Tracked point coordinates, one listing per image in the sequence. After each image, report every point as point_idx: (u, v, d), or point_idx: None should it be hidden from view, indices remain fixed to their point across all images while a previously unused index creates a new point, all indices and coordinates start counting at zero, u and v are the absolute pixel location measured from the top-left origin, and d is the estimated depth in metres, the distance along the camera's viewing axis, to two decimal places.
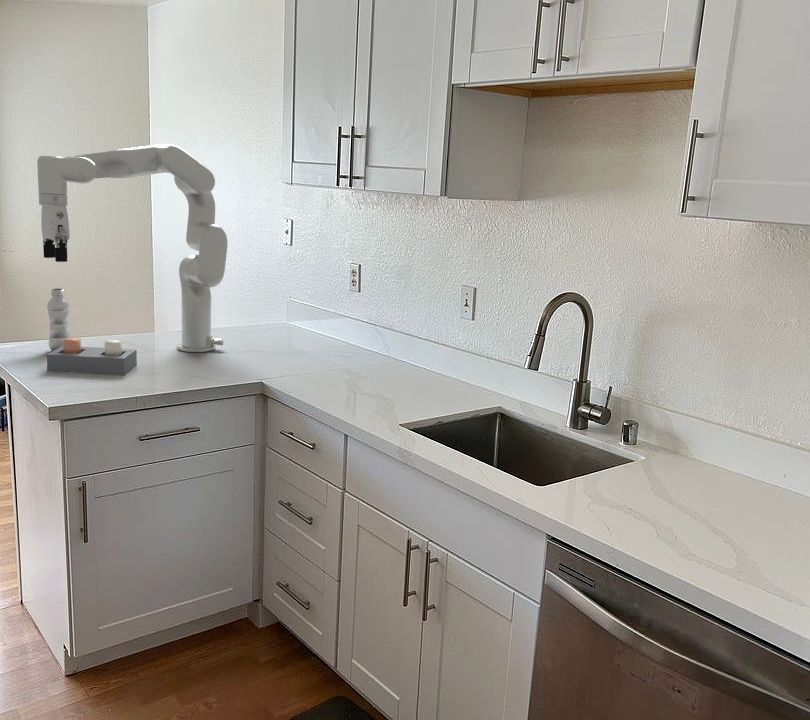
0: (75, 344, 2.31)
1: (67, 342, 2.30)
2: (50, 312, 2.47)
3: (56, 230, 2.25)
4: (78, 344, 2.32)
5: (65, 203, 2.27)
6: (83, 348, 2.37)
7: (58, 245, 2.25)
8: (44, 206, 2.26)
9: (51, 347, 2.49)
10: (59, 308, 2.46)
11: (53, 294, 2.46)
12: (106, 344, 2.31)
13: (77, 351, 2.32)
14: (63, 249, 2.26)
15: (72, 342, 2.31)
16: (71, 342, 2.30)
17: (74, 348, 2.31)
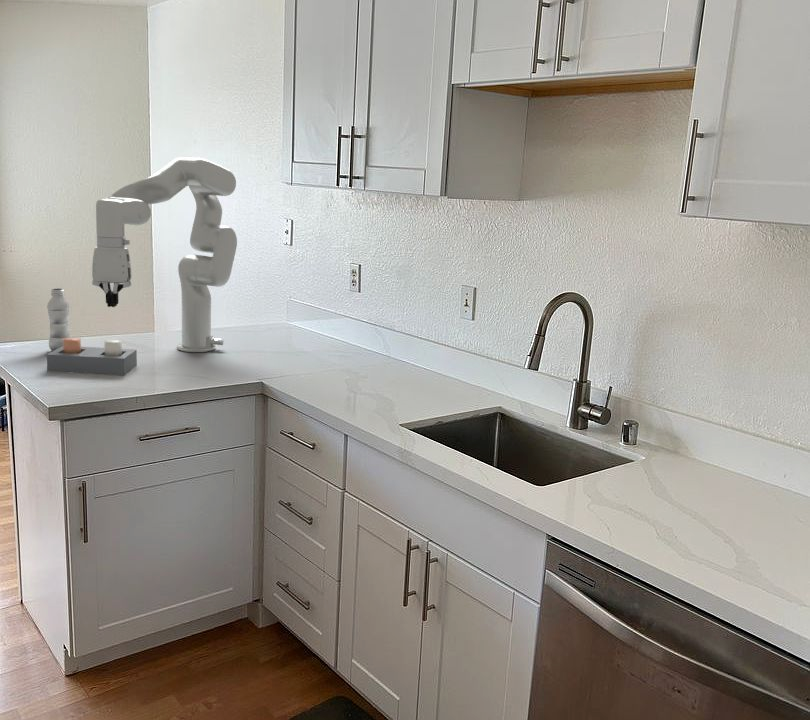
0: (75, 344, 2.31)
1: (67, 342, 2.30)
2: (50, 312, 2.47)
3: (127, 273, 2.27)
4: (78, 344, 2.32)
5: None
6: (83, 348, 2.37)
7: (116, 292, 2.29)
8: (108, 250, 2.24)
9: (51, 347, 2.49)
10: (59, 308, 2.46)
11: (53, 294, 2.46)
12: (106, 344, 2.31)
13: (77, 351, 2.32)
14: (117, 294, 2.30)
15: (72, 342, 2.31)
16: (71, 342, 2.30)
17: (74, 348, 2.31)
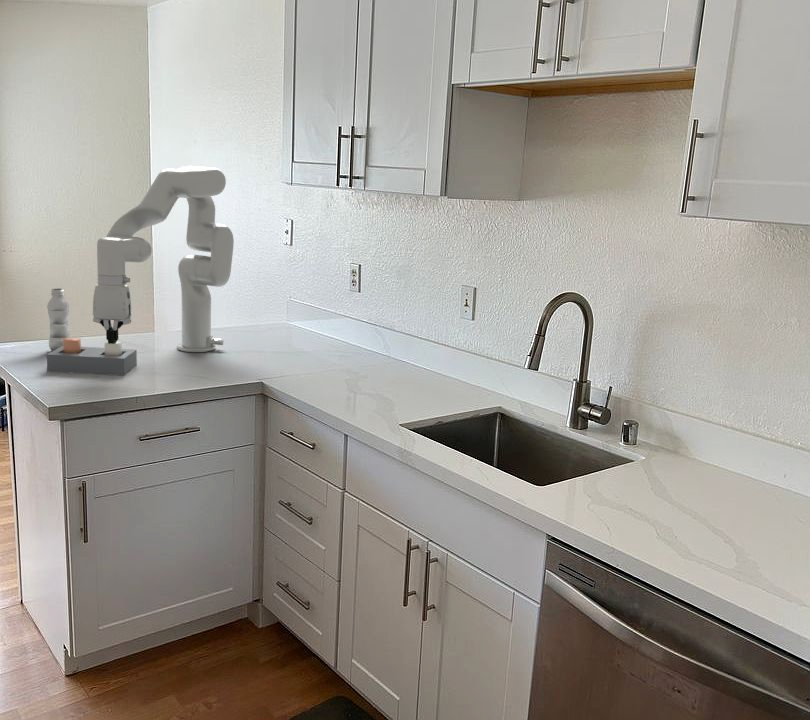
0: (75, 344, 2.31)
1: (67, 342, 2.30)
2: (50, 312, 2.47)
3: (128, 310, 2.30)
4: (78, 344, 2.32)
5: None
6: (83, 348, 2.37)
7: (116, 329, 2.31)
8: (109, 288, 2.27)
9: (51, 347, 2.49)
10: (59, 308, 2.46)
11: (53, 294, 2.46)
12: (106, 345, 2.31)
13: (77, 351, 2.32)
14: (117, 330, 2.32)
15: (72, 342, 2.31)
16: (71, 342, 2.30)
17: (74, 348, 2.31)
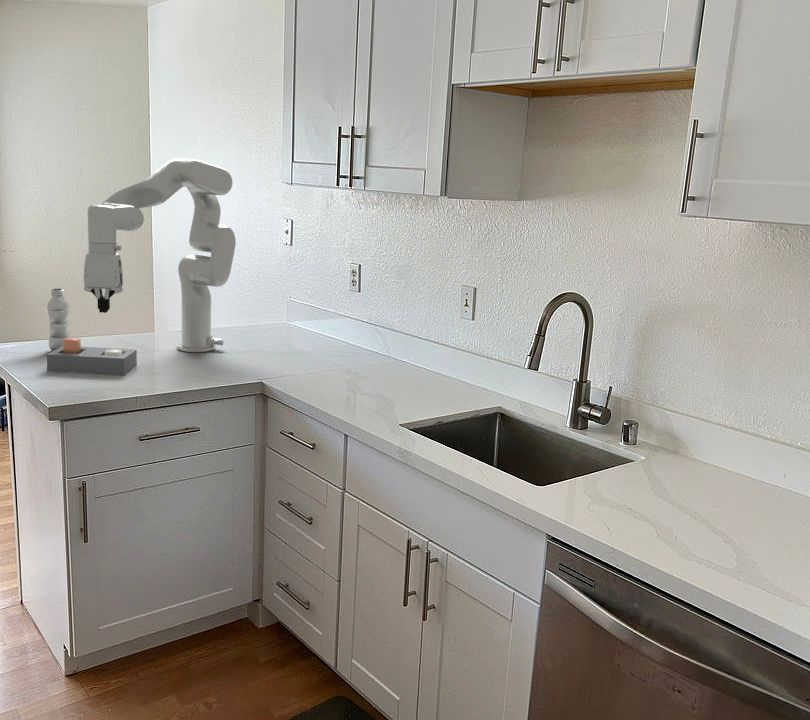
0: (75, 344, 2.31)
1: (67, 342, 2.30)
2: (50, 312, 2.47)
3: (119, 278, 2.28)
4: (78, 344, 2.32)
5: None
6: (83, 348, 2.37)
7: (108, 298, 2.29)
8: (100, 256, 2.25)
9: (51, 347, 2.49)
10: (59, 308, 2.46)
11: (53, 294, 2.46)
12: (106, 354, 2.32)
13: (77, 351, 2.32)
14: (109, 299, 2.30)
15: (72, 342, 2.31)
16: (71, 342, 2.30)
17: (74, 348, 2.31)
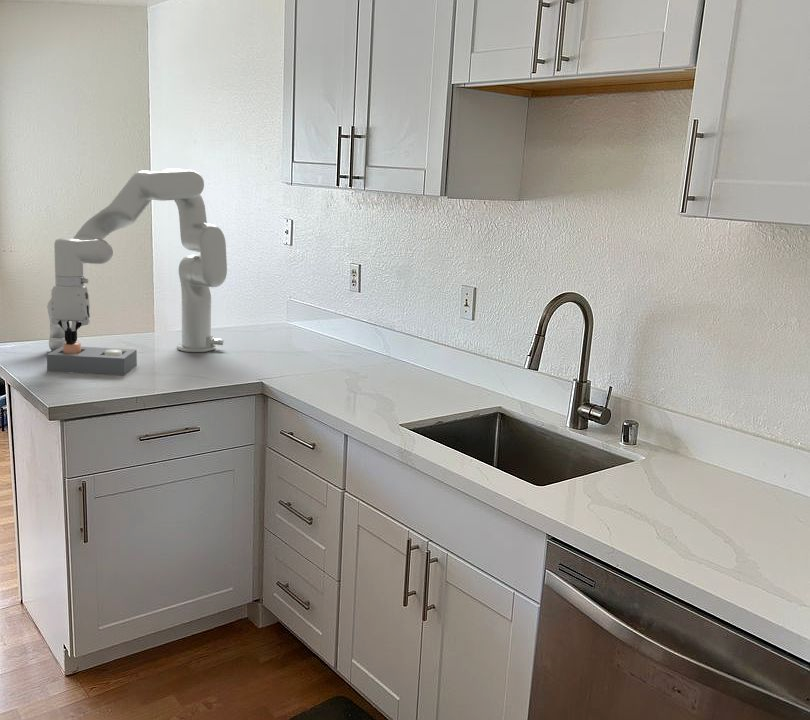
0: (75, 348, 2.31)
1: (67, 346, 2.31)
2: (50, 312, 2.47)
3: (86, 311, 2.29)
4: (78, 348, 2.32)
5: None
6: (83, 348, 2.37)
7: (75, 330, 2.31)
8: (66, 289, 2.26)
9: (51, 347, 2.49)
10: None
11: None
12: (106, 354, 2.32)
13: None
14: (76, 331, 2.32)
15: (73, 346, 2.31)
16: (71, 346, 2.31)
17: (74, 352, 2.31)
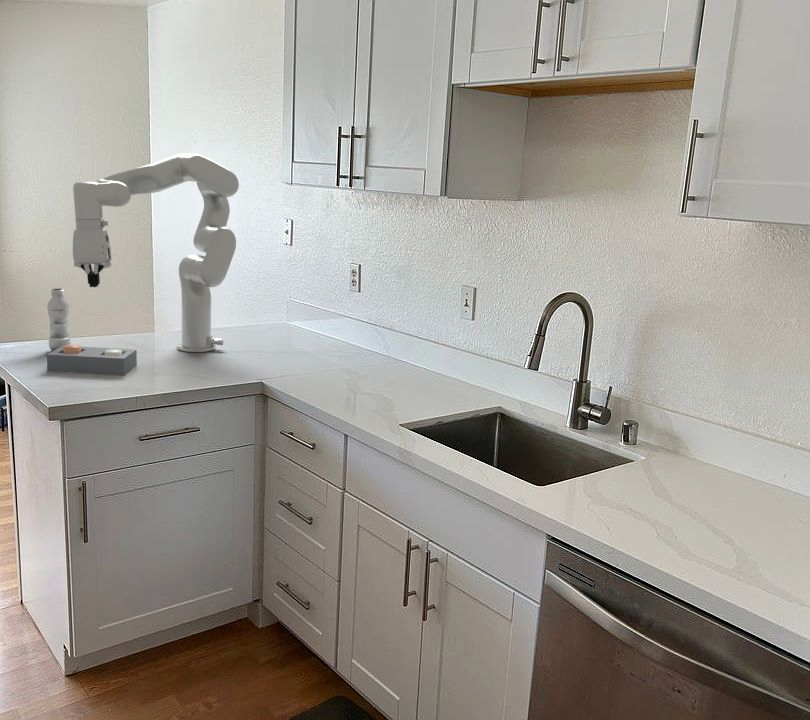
0: (75, 351, 2.32)
1: (67, 349, 2.31)
2: (50, 312, 2.47)
3: (107, 253, 2.34)
4: (78, 351, 2.32)
5: None
6: (83, 348, 2.37)
7: (97, 272, 2.35)
8: (87, 232, 2.30)
9: (51, 347, 2.49)
10: (59, 308, 2.46)
11: (53, 294, 2.46)
12: (106, 354, 2.32)
13: None
14: (98, 274, 2.37)
15: (73, 349, 2.31)
16: (71, 349, 2.31)
17: None
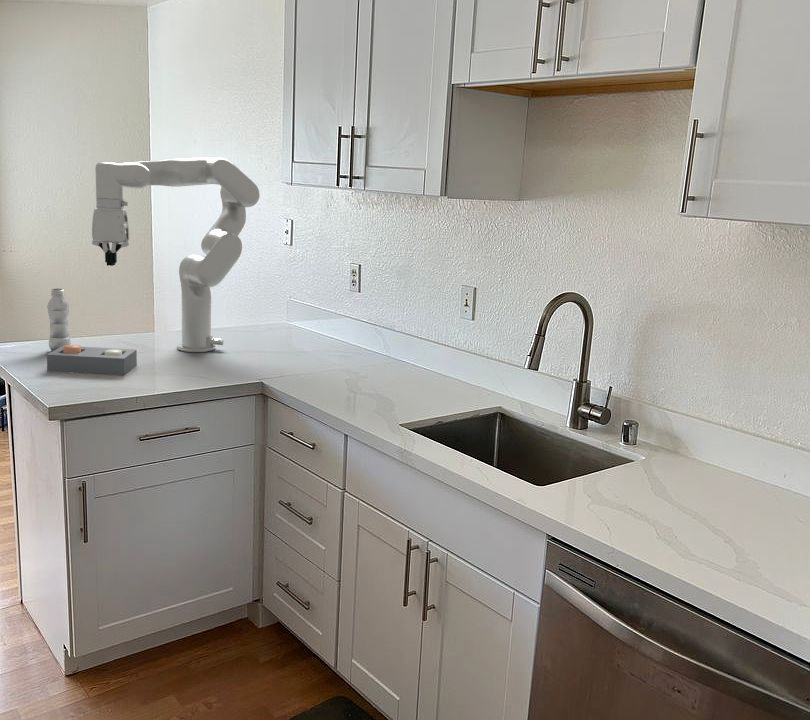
0: (75, 351, 2.32)
1: (67, 349, 2.31)
2: (50, 312, 2.47)
3: (125, 233, 2.40)
4: (78, 351, 2.32)
5: None
6: (83, 348, 2.37)
7: (115, 251, 2.41)
8: (107, 211, 2.37)
9: (51, 347, 2.49)
10: (59, 308, 2.46)
11: (53, 294, 2.46)
12: (106, 354, 2.32)
13: None
14: (116, 253, 2.42)
15: (73, 349, 2.31)
16: (71, 349, 2.31)
17: None
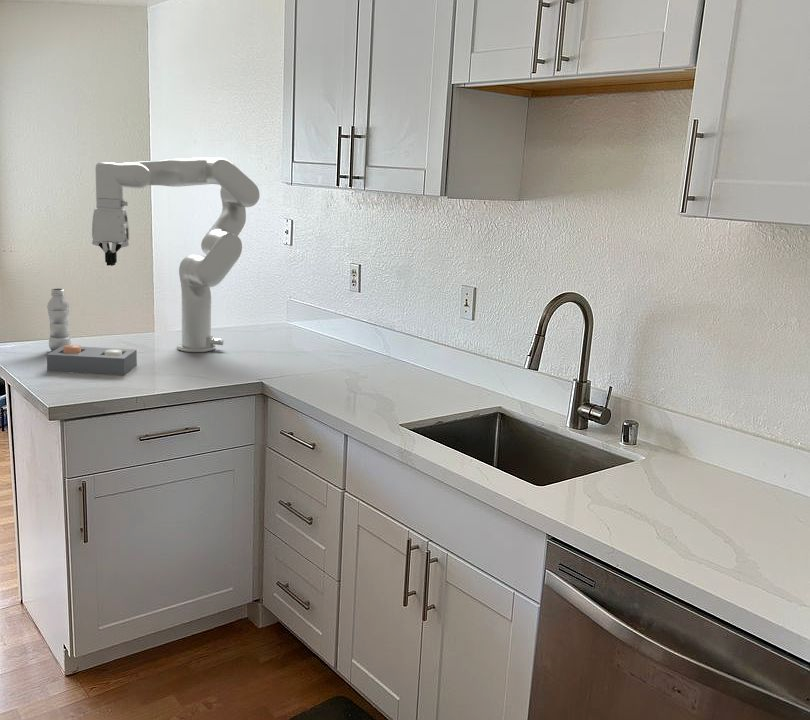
0: (75, 351, 2.32)
1: (67, 349, 2.31)
2: (50, 312, 2.47)
3: (125, 233, 2.40)
4: (78, 351, 2.32)
5: None
6: (83, 348, 2.37)
7: (115, 251, 2.41)
8: (107, 211, 2.37)
9: (51, 347, 2.49)
10: (59, 308, 2.46)
11: (53, 294, 2.46)
12: (106, 354, 2.32)
13: None
14: (116, 253, 2.42)
15: (73, 349, 2.31)
16: (71, 349, 2.31)
17: None
